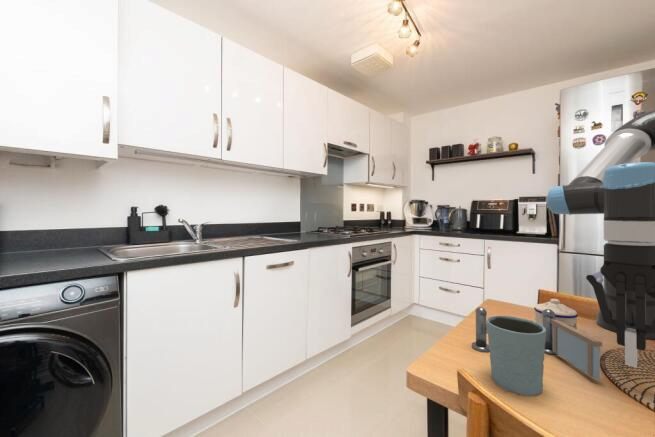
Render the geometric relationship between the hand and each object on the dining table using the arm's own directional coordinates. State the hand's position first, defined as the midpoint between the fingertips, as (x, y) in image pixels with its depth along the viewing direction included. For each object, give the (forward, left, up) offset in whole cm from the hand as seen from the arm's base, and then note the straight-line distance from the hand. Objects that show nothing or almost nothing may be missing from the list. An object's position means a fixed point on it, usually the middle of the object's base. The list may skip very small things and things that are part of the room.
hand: (631, 363), depth 54 cm
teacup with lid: (-1, -21, -5) cm, 22 cm away
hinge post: (+5, -15, -5) cm, 17 cm away
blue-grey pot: (+21, 0, -5) cm, 22 cm away
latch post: (+22, -15, -5) cm, 27 cm away
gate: (+5, -7, -4) cm, 10 cm away
